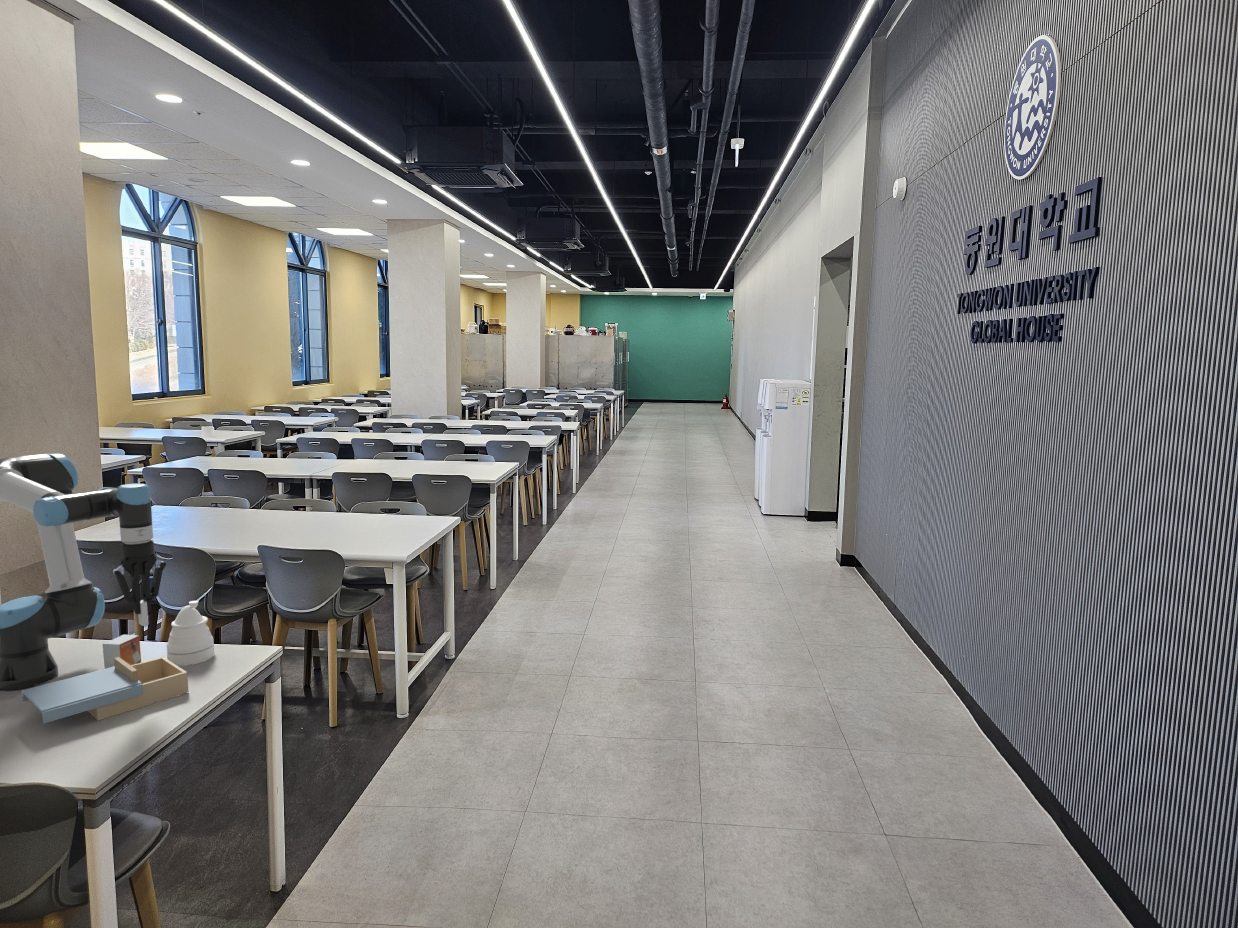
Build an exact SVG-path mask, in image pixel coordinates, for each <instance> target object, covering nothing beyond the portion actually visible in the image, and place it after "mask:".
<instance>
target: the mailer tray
mask: <svg viewBox="0 0 1238 928" xmlns="http://www.w3.org/2000/svg"><path fill="white" fill-rule="evenodd" d="M131 666H132V667H134V668H135V669H136V670H137V673H138V680H139V681H140V682H141V683H142V684H143V694H142V695H139V696H136V697H132V698H129V699H125V700H122V701H118V702H115V703H112V704H108V705H105V706H101V707H98V708H95V709H91V710H88V711H87V712H88V713H89V714H91V716H92V717H93V718H94V719H96V721H100V720H103V719H107V718H109V717H110V718H111V717H114V716H116V715H119V714H120V715H121V714H124V713H126V712H130V711H133V710H136V709H139V708H143V707H146V706H149V705H153V704H156V703H159V702H162V701H165V700H170V699H172V697H173V698H176V697H179V696H182V694H183V695H185V694H184V693H186V694H188V693H187V692H190V691H189V679H188V671H186V670H184V669H183V668H181V666H178V665H175V664H174V663H172V662H171V661H169V660H168V659H167V657H164V656H162V657H157V658H152V659H150V660H146V661H143V662H142V661H141V663H138V664H134V665H131ZM178 695H179V696H178ZM175 696H176V697H175ZM169 698H170V699H169Z"/></svg>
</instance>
